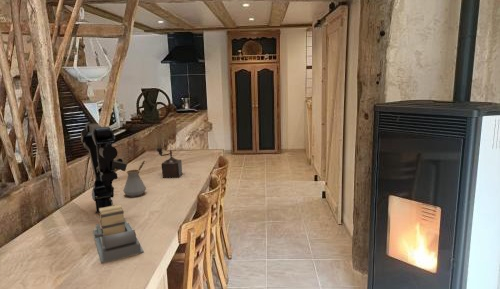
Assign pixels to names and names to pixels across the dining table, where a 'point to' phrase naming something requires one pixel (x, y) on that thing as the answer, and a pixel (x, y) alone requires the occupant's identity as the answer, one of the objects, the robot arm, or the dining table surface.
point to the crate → (112, 220)
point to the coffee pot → (134, 183)
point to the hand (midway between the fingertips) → (108, 191)
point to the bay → (117, 244)
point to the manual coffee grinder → (170, 166)
